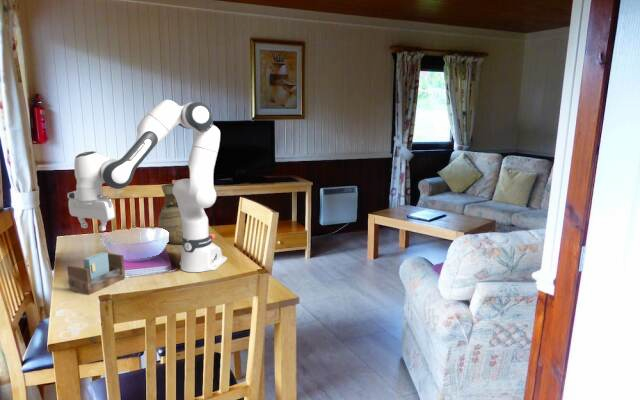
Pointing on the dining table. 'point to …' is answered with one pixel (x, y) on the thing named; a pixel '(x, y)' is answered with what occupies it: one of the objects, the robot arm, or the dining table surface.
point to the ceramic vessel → (171, 216)
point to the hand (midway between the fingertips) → (93, 229)
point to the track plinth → (83, 284)
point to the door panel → (97, 264)
